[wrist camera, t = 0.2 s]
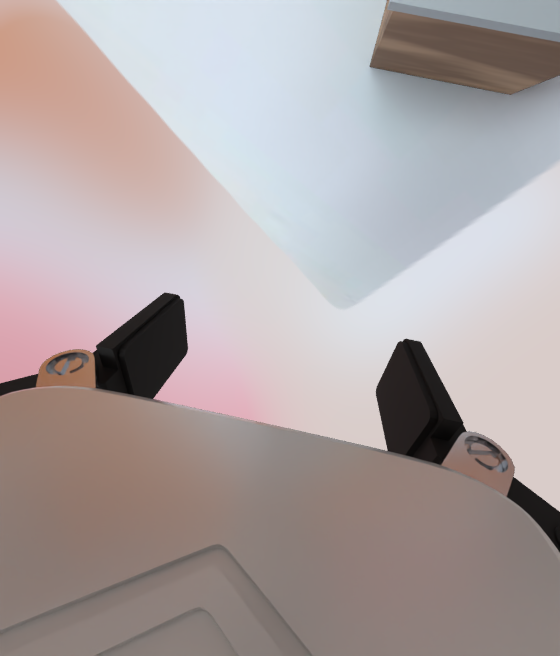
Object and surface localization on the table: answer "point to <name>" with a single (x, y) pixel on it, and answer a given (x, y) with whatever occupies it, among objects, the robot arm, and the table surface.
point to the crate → (463, 53)
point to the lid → (491, 14)
